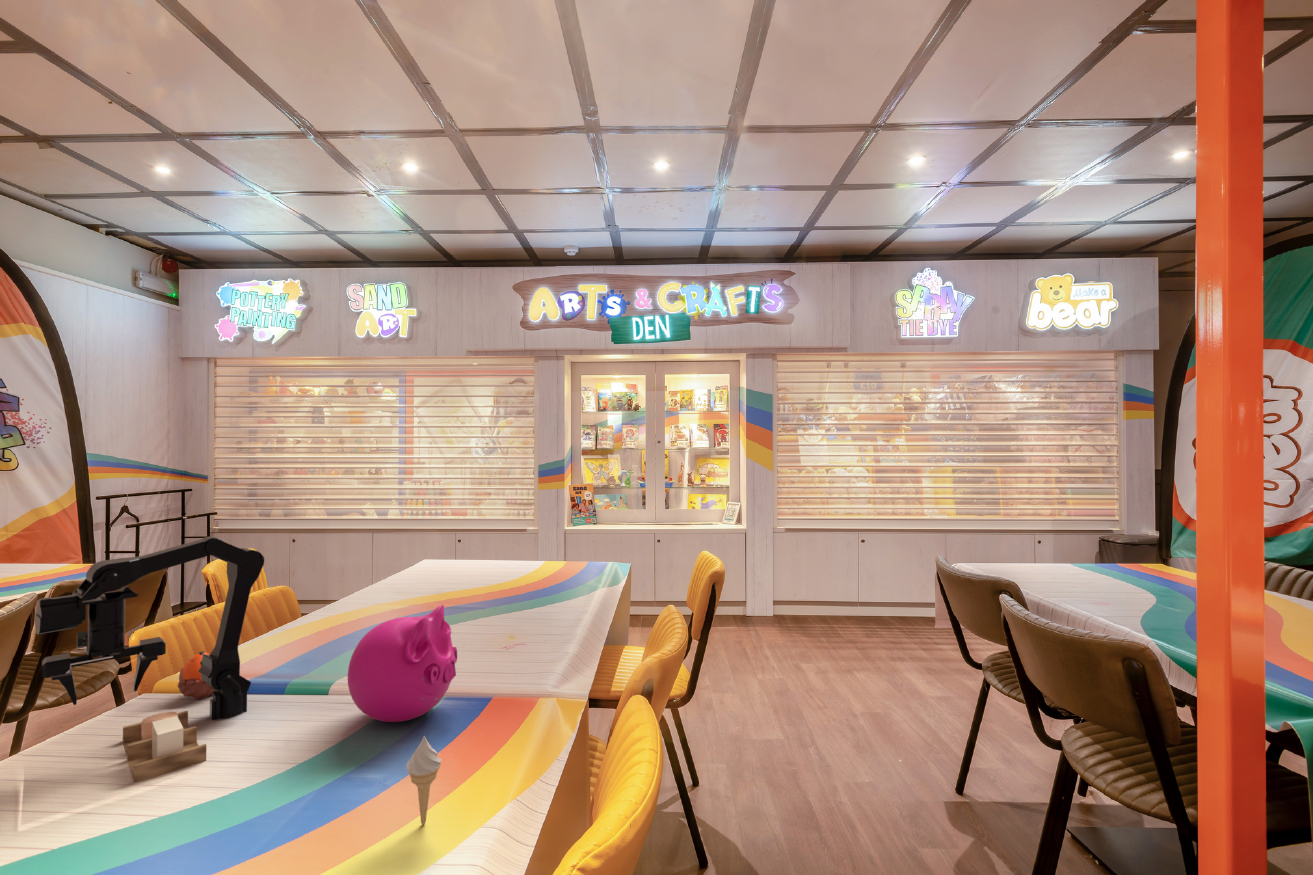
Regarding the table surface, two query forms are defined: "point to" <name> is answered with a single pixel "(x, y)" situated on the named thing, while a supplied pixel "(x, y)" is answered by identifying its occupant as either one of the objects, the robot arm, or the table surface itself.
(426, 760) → the ice cream cone
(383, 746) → the table surface
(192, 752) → the rack
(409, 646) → the figurine
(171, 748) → the cream rectangular block
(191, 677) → the orange rounded lump
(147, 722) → the peach rounded capsule
